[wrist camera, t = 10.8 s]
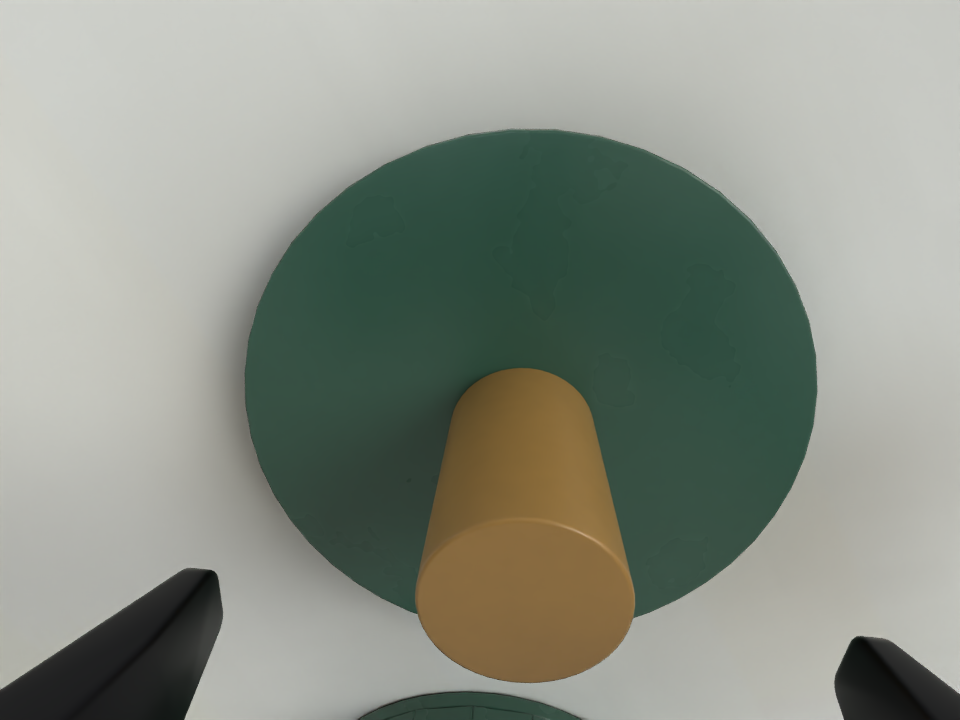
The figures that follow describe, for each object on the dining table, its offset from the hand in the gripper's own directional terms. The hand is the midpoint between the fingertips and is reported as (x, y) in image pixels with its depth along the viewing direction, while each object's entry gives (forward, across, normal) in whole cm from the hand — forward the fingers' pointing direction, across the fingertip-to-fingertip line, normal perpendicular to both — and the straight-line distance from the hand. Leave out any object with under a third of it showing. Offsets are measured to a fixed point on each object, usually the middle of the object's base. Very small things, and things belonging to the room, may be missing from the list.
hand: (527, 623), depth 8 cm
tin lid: (+6, 0, 0) cm, 6 cm away
